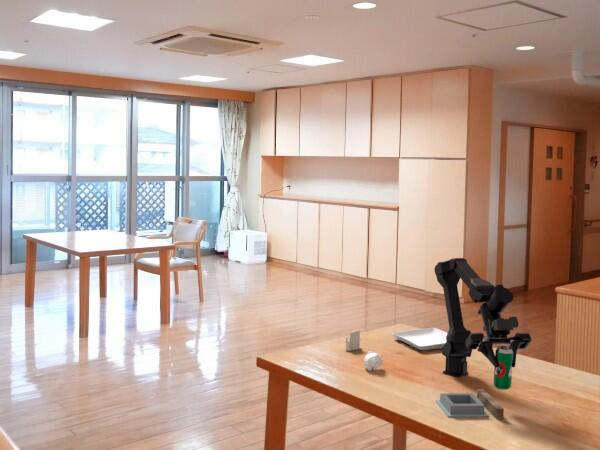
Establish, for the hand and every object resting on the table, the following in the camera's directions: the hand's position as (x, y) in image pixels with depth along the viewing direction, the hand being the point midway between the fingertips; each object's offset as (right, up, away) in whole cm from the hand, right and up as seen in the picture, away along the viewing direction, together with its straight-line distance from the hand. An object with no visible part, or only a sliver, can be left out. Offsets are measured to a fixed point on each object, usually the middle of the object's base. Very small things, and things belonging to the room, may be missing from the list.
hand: (505, 366), depth 194 cm
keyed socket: (-13, -13, +2) cm, 18 cm away
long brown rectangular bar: (-4, -13, +2) cm, 14 cm away
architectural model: (-40, -7, +61) cm, 73 cm away
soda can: (0, -7, +2) cm, 7 cm away
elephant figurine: (-35, -9, +37) cm, 52 cm away
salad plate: (-9, -6, +71) cm, 71 cm away
